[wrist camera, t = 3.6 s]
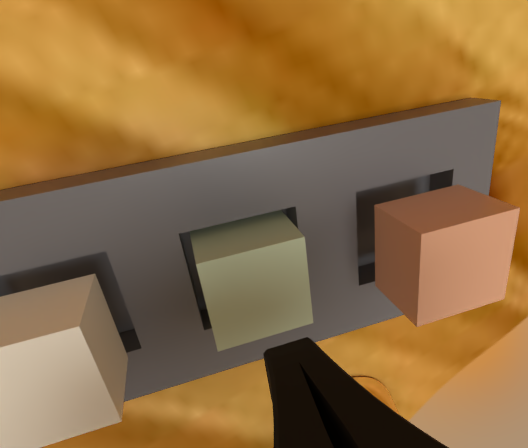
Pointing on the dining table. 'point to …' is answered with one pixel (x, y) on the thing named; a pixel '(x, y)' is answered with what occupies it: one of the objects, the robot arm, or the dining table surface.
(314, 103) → the dining table surface
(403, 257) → the terracotta button
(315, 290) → the button panel
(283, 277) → the sage button
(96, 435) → the dining table surface
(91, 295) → the cream button
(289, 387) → the robot arm
